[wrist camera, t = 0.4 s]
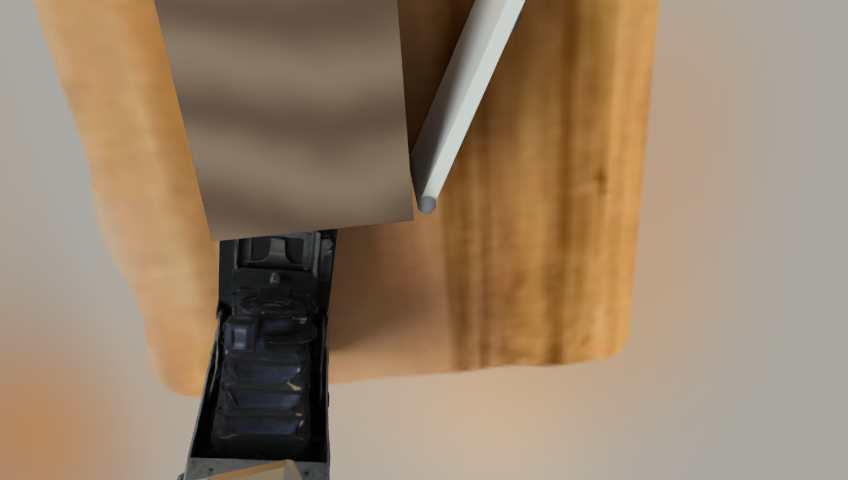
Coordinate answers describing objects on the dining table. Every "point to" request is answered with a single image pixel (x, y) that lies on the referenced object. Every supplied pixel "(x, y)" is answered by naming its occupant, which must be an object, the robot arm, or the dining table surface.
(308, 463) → the vintage camera
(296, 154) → the case
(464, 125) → the door
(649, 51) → the dining table surface
